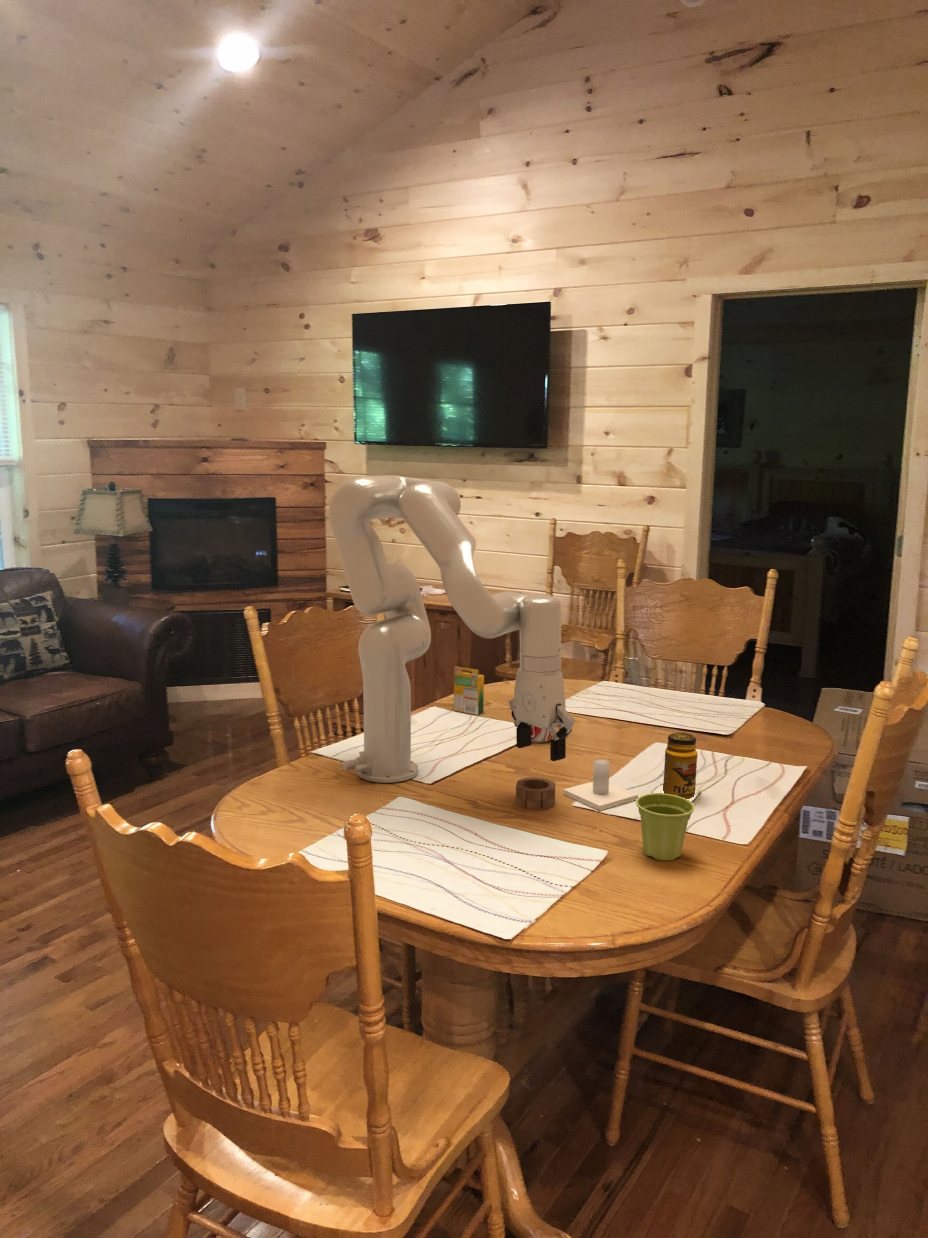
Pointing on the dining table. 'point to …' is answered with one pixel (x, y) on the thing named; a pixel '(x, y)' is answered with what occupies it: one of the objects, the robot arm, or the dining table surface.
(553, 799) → the ring
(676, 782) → the condiment
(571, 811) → the dining table surface
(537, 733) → the soda can
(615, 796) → the post
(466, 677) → the crayon box
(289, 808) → the dining table surface
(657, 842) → the plant pot
